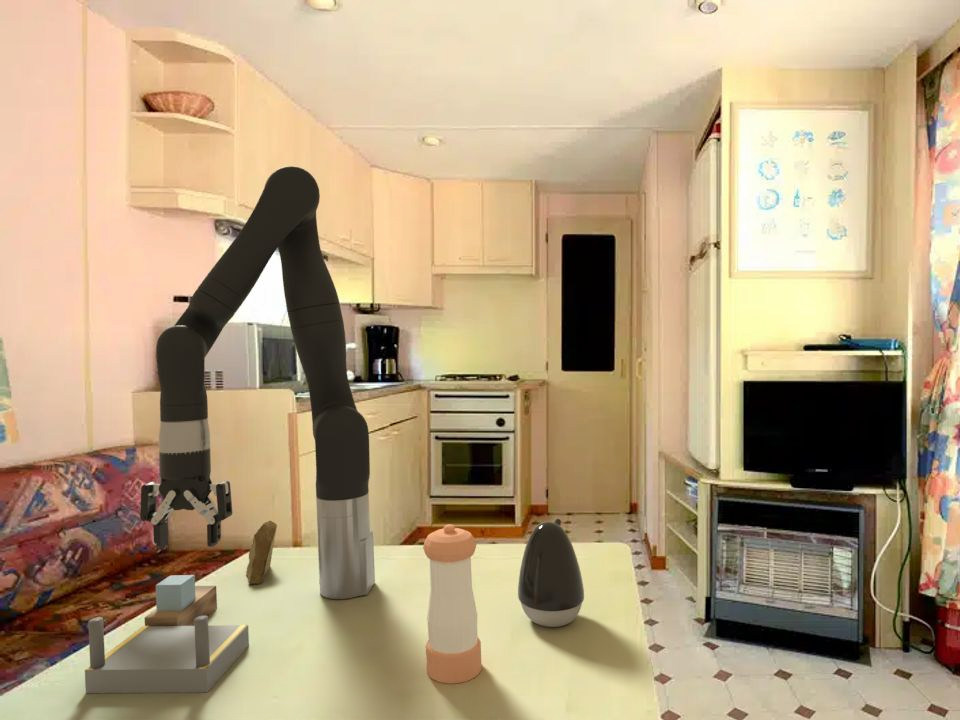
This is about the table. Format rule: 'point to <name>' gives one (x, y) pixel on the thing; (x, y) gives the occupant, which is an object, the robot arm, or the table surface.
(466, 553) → the salt shaker
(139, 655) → the dock
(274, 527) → the rock
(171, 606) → the pale blue cube
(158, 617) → the pallet
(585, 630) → the table surface
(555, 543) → the dark grey egg shape
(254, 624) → the table surface
